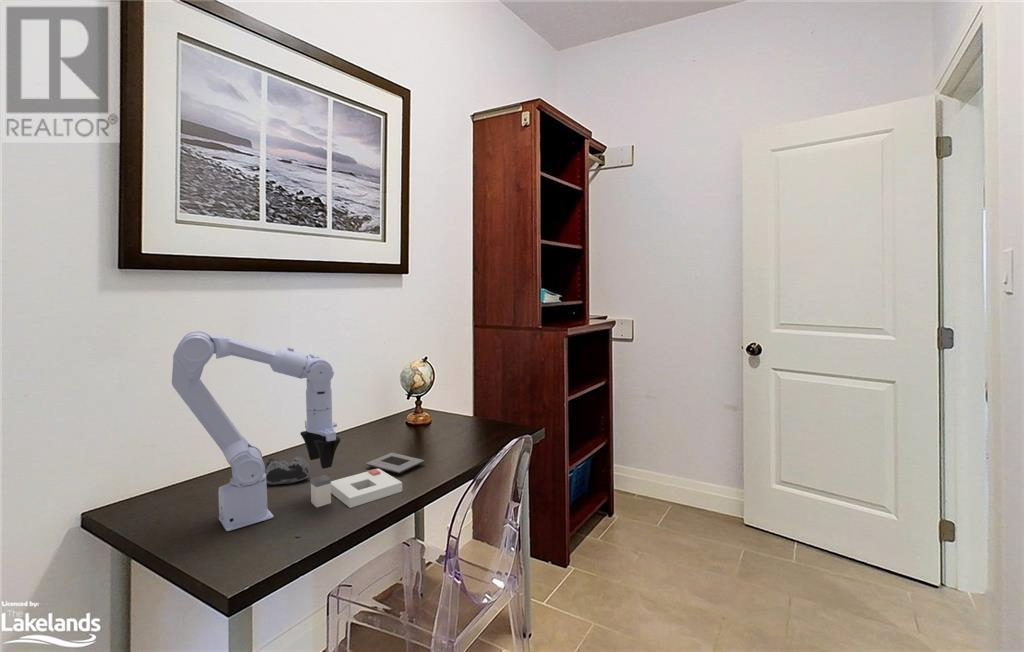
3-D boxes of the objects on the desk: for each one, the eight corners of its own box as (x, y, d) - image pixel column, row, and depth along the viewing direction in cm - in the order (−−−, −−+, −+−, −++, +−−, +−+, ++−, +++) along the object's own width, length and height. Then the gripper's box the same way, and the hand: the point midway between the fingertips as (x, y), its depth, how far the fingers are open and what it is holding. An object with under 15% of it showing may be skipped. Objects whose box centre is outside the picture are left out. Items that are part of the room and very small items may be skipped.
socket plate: (349, 508, 114) (349, 495, 114) (328, 491, 124) (328, 479, 124) (402, 491, 124) (402, 480, 123) (378, 476, 133) (378, 466, 133)
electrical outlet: (424, 467, 142) (424, 459, 142) (399, 479, 133) (398, 470, 133) (392, 459, 148) (391, 451, 148) (365, 470, 139) (365, 462, 139)
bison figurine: (310, 484, 129) (313, 469, 139) (309, 459, 128) (311, 445, 138) (261, 490, 125) (266, 474, 135) (259, 465, 124) (265, 450, 134)
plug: (316, 507, 115) (315, 483, 114) (311, 502, 117) (310, 478, 117) (331, 503, 117) (330, 479, 117) (325, 498, 120) (325, 474, 119)
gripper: (348, 411, 113) (349, 467, 114) (324, 400, 124) (325, 451, 125) (317, 416, 108) (319, 474, 109) (295, 404, 119) (297, 458, 120)
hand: (320, 463), depth 117 cm, fingers open, 7 cm apart
